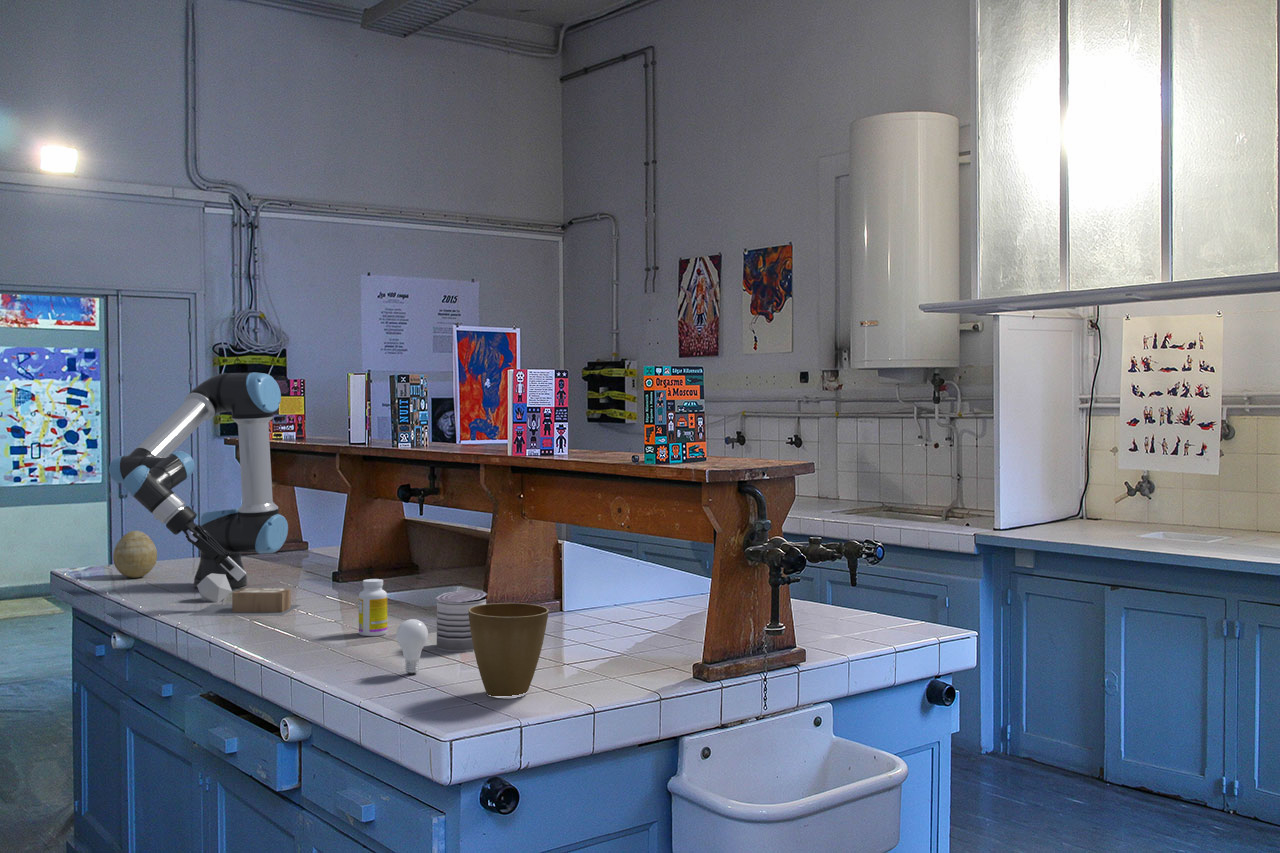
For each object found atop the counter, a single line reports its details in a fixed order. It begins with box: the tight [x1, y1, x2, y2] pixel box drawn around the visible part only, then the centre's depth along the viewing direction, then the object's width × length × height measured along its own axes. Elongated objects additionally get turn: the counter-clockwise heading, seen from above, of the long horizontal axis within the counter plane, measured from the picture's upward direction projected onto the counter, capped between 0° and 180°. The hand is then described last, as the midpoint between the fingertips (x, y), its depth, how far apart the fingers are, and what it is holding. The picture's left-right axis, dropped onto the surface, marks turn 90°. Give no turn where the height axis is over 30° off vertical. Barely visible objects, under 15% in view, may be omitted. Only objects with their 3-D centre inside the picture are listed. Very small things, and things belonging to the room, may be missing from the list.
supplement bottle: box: [358, 578, 388, 637], centre depth 257 cm, size 7×7×13 cm
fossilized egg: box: [112, 530, 158, 579], centre depth 344 cm, size 13×13×15 cm
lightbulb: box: [395, 618, 429, 675], centre depth 217 cm, size 6×6×11 cm
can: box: [434, 589, 489, 653], centre depth 243 cm, size 11×11×12 cm
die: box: [197, 573, 233, 603], centre depth 300 cm, size 8×9×10 cm
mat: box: [189, 604, 301, 617], centre depth 285 cm, size 16×24×1 cm, turn 91°
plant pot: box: [468, 602, 550, 696], centre depth 201 cm, size 15×15×16 cm
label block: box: [231, 588, 292, 612], centre depth 285 cm, size 7×5×13 cm
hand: (242, 577), depth 285 cm, fingers closed
